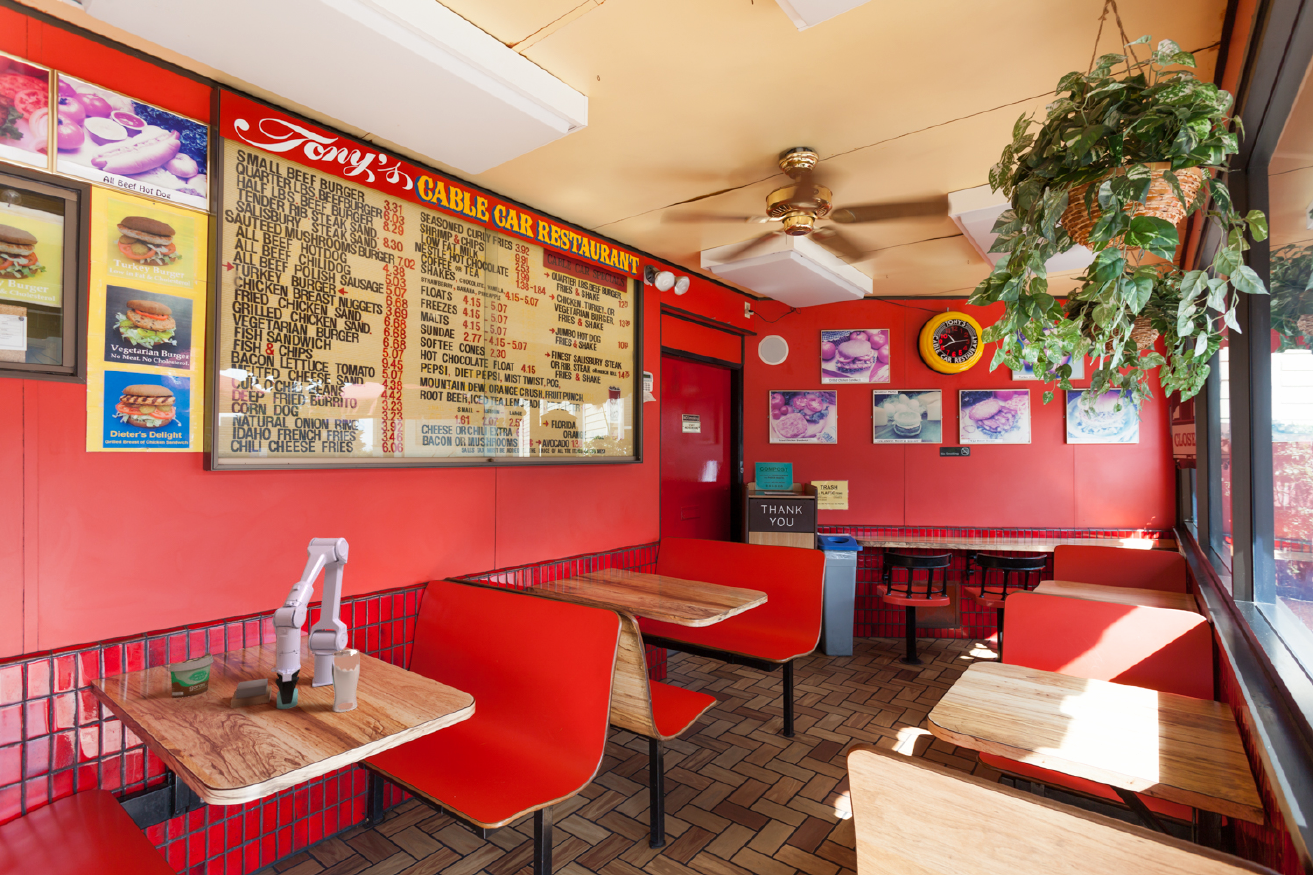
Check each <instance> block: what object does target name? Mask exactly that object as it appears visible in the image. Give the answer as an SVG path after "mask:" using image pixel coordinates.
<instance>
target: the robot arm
mask: <svg viewBox="0 0 1313 875" xmlns="http://www.w3.org/2000/svg"><path fill="white" fill-rule="evenodd" d="M349 548H350V547H349V543H348V542H347V540H346V538H344V537H336V538H335V537H327V538H325V537H313V538H312V539H311V540H310V541H309V543H308V545H307V548H306V554H307V557H308V559H307V561H306V564H305V566H304V569H303V572H302V574H301V577H300V580H299V581H298V582H296V583H293V585H292V586H291V588H290V590H289V593H288V594H287V596H286V598H285V600H284V603H283V605H282V606H281V607H279V608H277V609H276V610H275V612H274V613H273V617H272V619H271V622H272V624H271V625H272V627H273V628H274V633H275V635H276V656H275V657H276V658H275V659H276V663H275V664H276V666H275V667H272V668H271V669H270V672H271V673H276V676H277V677H276V678H275V679H274V680H275V684H276V686H277V688H278V691H280V695H281V701H282V704H283V705H284V704H290V703H291V702H292V699H293V694H294V689H295V688H296V686H297V683H298V681H299V680H300V676H298V675H299V674H300V672H301V671H300V670H301V668H302V665H301V639H302V638H301V636H302V635H301V634H302V633H301V632H302V631H301V630H302V629H301V628H302V626H303V625H304V624H305V622H306V619H307V611H308V608H307V607H308V604H309V603H310V600H311V598H312V596H313V593H314V591H315V590H314V588H313V584H314V583H315V581H316V580H317V578H318V576H319V574H320V572H321V571H322V570H323V568H324V578H323V587H322V597H321V598H322V599H321V607H320V616H319V617H320V618H319V620H318V621H317V622H316V623H315V624H313V625H311V629H310V634H309V636H308V638H307V647H308V649H309V651H311V654H312V655H314V660H313V661H314V662H313V666H314V667H313V669H314V670H313V678H312V685H311V686H312V688H314V687H315V688H316V687H321V686H322V687H323V686H329V685H333V682H332V658H333V653H334V652H337V651H340V650H345V648H346V647H347V644H348V638H349V636H348V628H347V624H345V623H344V622H343V621H341V620H340V618H339V617H340V616H339V615H340V608H341V607H340V606H341V597H342V587H343V577H344V576H343V575H344V566H345V565H346V564H348V558H349Z"/></svg>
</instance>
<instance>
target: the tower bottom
mask: <svg viewBox="0 0 1313 875" xmlns="http://www.w3.org/2000/svg"><path fill="white" fill-rule="evenodd" d="M272 687H273V686H272V685H268V686H267V691H266V695H259V696H252V697H246V698H239V699H236V690H234V693H233V695H232V698H231V700H230V709H235V708H241V707H242V708H243V707H248V706H256V705H261V703H262V704H268V703H270V701H271V696H272V690H273V689H272Z"/></svg>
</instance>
